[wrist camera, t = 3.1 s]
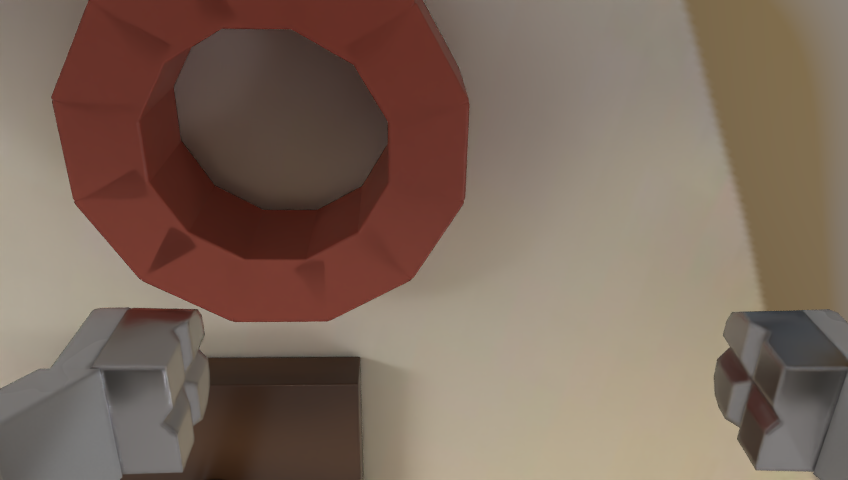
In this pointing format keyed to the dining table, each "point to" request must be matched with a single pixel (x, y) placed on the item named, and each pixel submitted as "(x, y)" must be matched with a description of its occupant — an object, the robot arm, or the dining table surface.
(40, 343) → the dining table surface
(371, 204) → the ring
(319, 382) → the peg stand
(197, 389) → the robot arm
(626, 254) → the dining table surface
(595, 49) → the dining table surface
